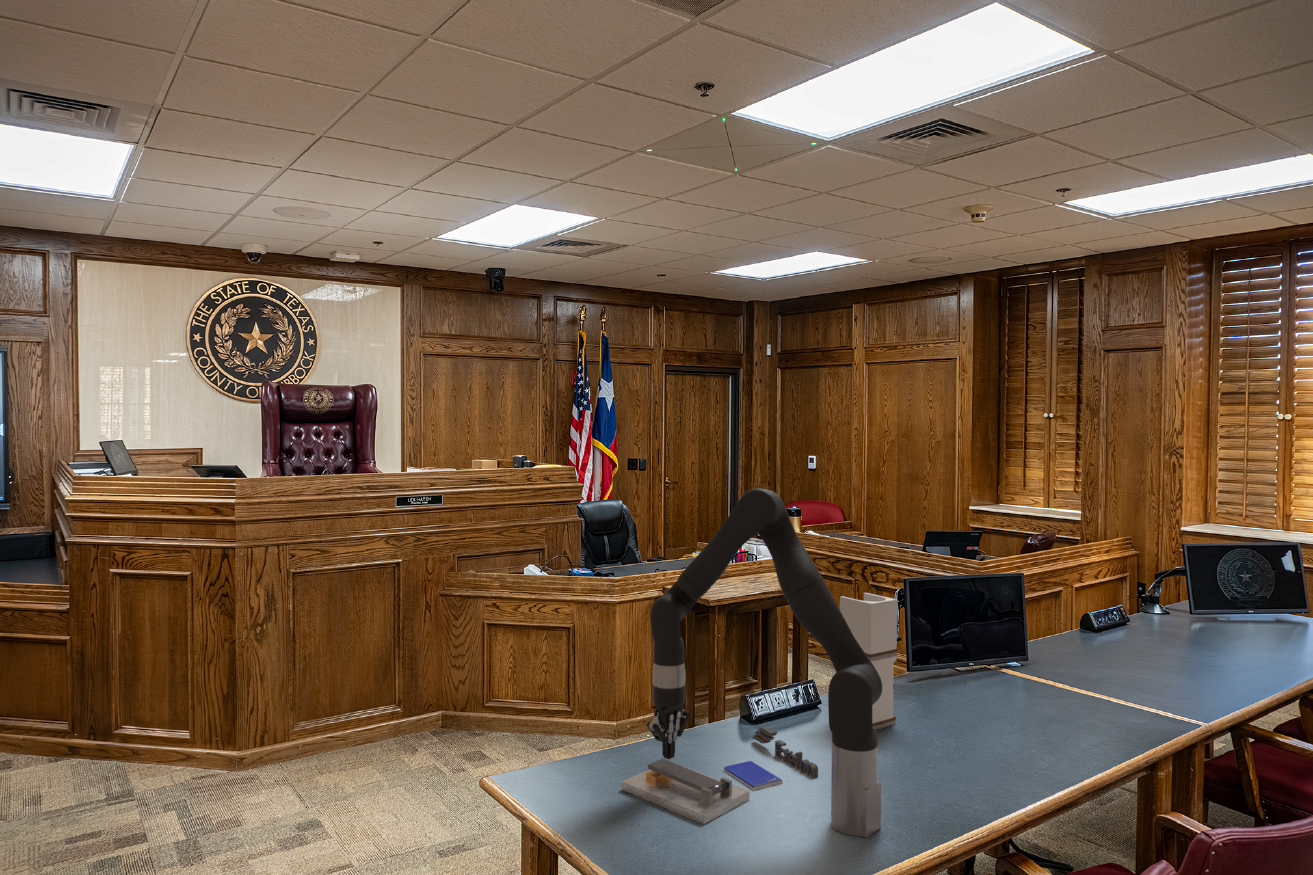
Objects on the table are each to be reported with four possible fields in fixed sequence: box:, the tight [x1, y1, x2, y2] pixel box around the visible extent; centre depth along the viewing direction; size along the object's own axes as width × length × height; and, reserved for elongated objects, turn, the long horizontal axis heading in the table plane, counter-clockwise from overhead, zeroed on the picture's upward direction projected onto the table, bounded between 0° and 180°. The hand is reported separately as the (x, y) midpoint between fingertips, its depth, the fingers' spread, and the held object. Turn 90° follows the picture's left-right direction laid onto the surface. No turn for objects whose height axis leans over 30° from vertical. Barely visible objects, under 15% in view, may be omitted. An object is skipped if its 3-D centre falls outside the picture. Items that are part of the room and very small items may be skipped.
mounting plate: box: [621, 762, 750, 825], centre depth 186 cm, size 24×16×5 cm, turn 48°
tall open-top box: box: [839, 592, 898, 731], centre depth 234 cm, size 11×11×35 cm
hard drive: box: [723, 760, 783, 791], centre depth 196 cm, size 2×8×12 cm
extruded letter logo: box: [751, 726, 819, 779], centre depth 207 cm, size 25×2×6 cm, turn 28°
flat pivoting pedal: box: [647, 757, 727, 796], centre depth 186 cm, size 19×5×2 cm, turn 48°
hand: (668, 757), depth 190 cm, fingers closed
